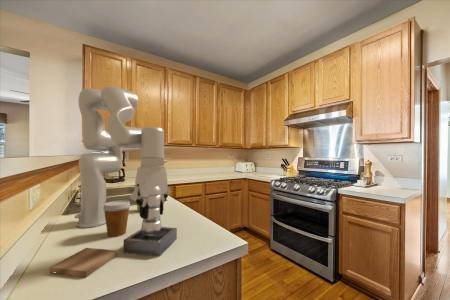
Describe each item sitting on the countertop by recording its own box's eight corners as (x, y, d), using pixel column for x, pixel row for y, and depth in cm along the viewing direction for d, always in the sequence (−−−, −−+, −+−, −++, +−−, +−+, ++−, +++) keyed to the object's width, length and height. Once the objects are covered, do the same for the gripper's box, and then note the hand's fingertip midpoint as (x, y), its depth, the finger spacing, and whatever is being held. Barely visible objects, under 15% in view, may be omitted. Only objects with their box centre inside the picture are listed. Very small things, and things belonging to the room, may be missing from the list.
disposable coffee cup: (135, 230, 80) (136, 201, 81) (115, 240, 71) (116, 206, 72) (117, 227, 83) (118, 199, 84) (96, 236, 74) (97, 204, 75)
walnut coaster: (49, 273, 52) (49, 267, 52) (86, 252, 62) (86, 247, 62) (86, 277, 50) (86, 271, 50) (117, 255, 61) (117, 250, 61)
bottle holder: (123, 252, 62) (123, 239, 62) (145, 236, 74) (145, 226, 74) (160, 256, 60) (160, 242, 60) (176, 239, 72) (176, 227, 72)
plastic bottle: (147, 240, 63) (148, 177, 63) (137, 234, 67) (138, 175, 68) (165, 234, 68) (166, 175, 68) (155, 229, 72) (156, 174, 73)
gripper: (167, 161, 77) (167, 208, 77) (122, 163, 64) (121, 219, 63) (179, 162, 72) (179, 212, 72) (132, 164, 59) (132, 225, 59)
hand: (151, 215), depth 68 cm, fingers closed on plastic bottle, 5 cm apart
